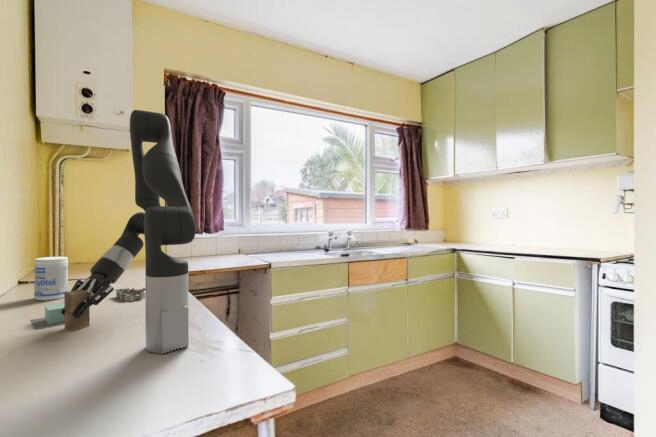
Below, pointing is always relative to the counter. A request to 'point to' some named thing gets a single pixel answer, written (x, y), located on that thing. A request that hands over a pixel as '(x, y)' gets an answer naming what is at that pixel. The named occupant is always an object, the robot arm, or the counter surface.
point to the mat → (44, 324)
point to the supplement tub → (50, 278)
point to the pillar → (70, 305)
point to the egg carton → (130, 294)
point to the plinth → (54, 314)
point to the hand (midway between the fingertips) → (69, 315)
